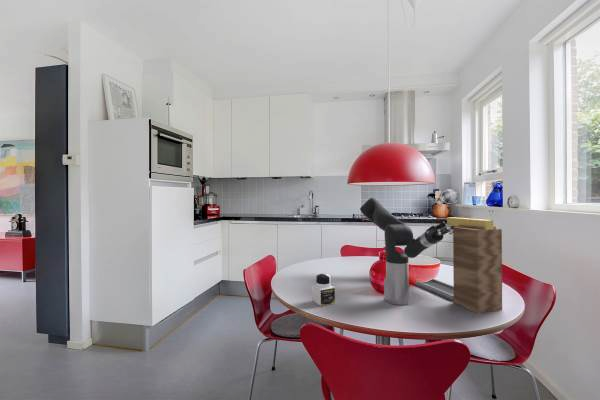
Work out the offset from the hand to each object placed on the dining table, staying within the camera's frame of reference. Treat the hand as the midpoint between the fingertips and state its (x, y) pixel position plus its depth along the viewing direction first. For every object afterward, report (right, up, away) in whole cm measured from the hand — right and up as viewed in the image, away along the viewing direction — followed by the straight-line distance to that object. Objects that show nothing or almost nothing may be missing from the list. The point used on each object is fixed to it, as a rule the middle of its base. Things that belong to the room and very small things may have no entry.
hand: (452, 223), depth 130 cm
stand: (+4, -33, -12) cm, 35 cm away
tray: (-1, -33, +7) cm, 34 cm away
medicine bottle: (-59, -34, -6) cm, 68 cm away
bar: (+2, -1, -8) cm, 9 cm away
